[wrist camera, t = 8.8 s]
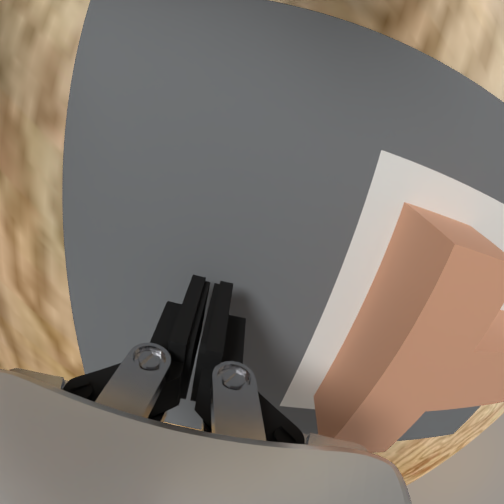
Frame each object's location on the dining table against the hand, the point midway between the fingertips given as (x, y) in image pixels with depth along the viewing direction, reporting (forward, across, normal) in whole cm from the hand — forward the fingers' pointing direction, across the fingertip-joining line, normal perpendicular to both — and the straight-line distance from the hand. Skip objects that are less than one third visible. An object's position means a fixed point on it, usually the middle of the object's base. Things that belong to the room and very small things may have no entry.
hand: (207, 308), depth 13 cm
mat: (+1, -8, 0) cm, 8 cm away
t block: (+1, -13, 0) cm, 13 cm away
